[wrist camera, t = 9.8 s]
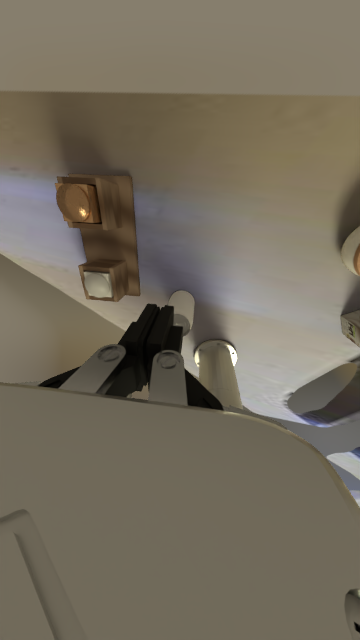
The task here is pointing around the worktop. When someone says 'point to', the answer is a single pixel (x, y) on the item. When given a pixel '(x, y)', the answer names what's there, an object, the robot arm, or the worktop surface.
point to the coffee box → (351, 326)
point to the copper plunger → (78, 202)
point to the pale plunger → (98, 284)
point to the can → (183, 310)
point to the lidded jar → (352, 252)
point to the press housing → (110, 234)
